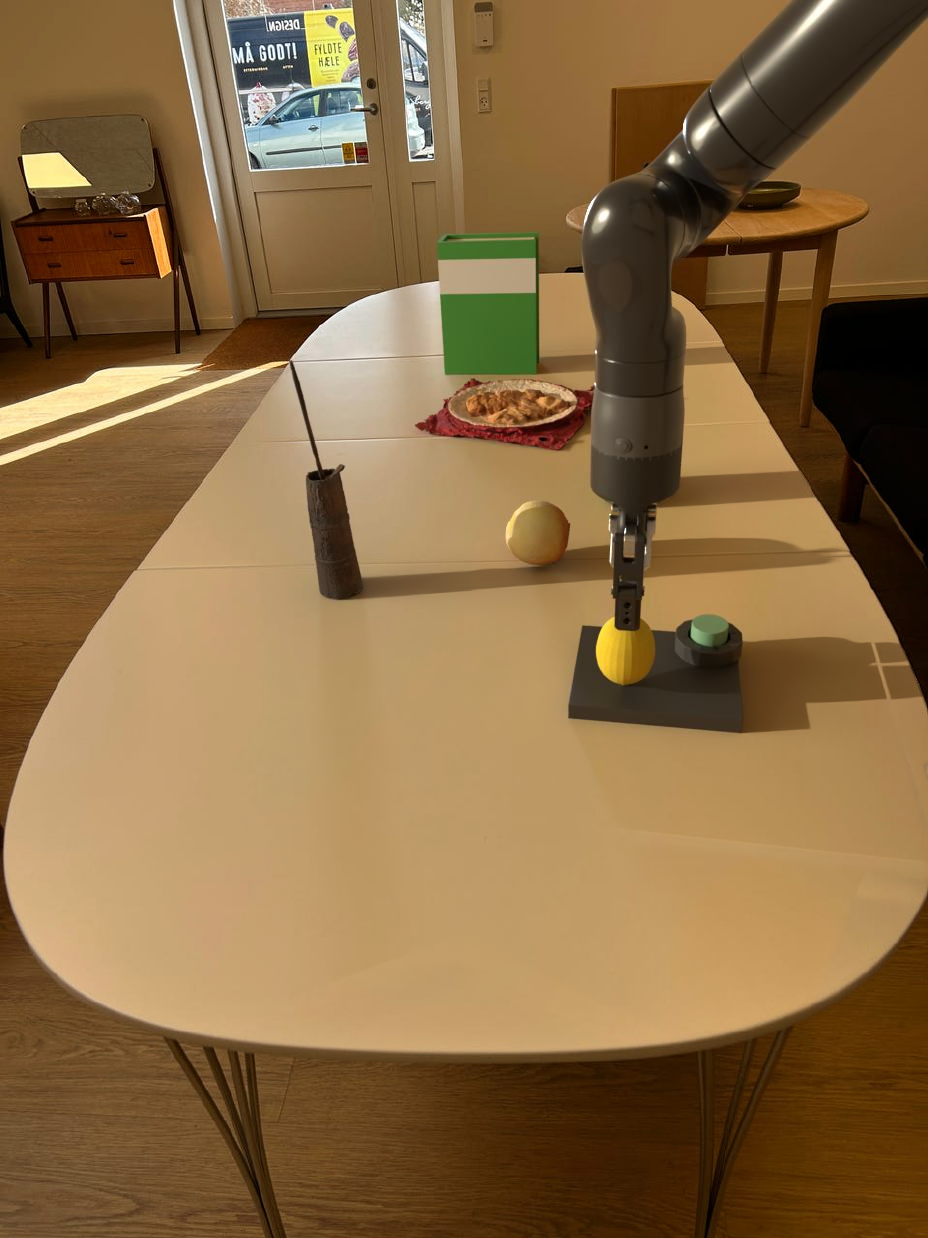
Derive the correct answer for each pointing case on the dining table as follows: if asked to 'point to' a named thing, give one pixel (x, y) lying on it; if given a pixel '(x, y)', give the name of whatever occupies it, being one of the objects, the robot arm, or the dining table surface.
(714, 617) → the button
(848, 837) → the dining table surface
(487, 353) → the hardback book
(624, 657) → the lemon
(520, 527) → the fruit
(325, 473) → the butter churn
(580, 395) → the plate with food
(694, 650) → the dark grey button base
